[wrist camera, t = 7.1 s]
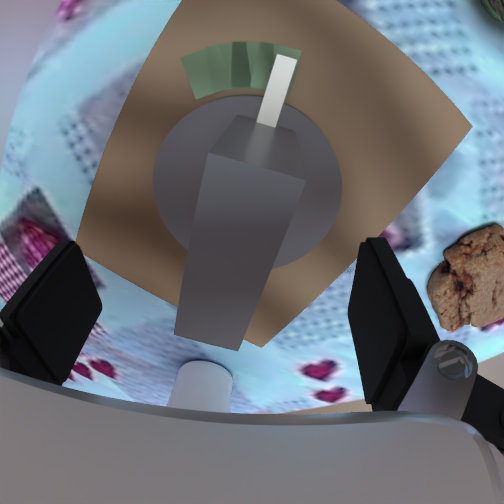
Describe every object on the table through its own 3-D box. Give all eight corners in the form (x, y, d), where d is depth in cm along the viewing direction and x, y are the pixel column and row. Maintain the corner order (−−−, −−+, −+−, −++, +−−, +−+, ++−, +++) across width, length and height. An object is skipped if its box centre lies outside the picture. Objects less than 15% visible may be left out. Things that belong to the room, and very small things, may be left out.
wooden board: (263, 327, 24) (261, 349, 22) (87, 232, 20) (72, 250, 18) (455, 118, 14) (474, 127, 12) (231, -45, 10) (224, -58, 8)
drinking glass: (160, 353, 27) (116, 503, 15) (229, 350, 26) (202, 522, 14) (187, 391, 31) (159, 519, 18) (249, 390, 30) (233, 531, 17)
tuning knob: (301, 277, 18) (307, 380, 12) (150, 236, 17) (98, 325, 12) (380, 93, 12) (457, 124, 6) (187, 35, 11) (112, 20, 5)
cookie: (506, 308, 22) (519, 330, 19) (413, 327, 24) (423, 354, 21) (537, 215, 16) (557, 236, 14) (433, 225, 18) (452, 250, 16)
